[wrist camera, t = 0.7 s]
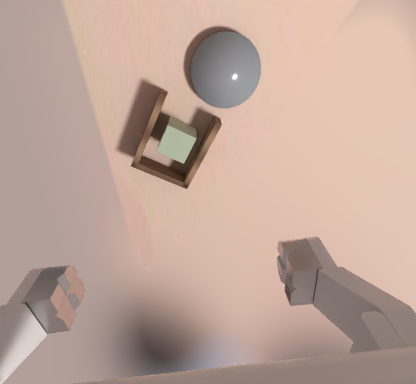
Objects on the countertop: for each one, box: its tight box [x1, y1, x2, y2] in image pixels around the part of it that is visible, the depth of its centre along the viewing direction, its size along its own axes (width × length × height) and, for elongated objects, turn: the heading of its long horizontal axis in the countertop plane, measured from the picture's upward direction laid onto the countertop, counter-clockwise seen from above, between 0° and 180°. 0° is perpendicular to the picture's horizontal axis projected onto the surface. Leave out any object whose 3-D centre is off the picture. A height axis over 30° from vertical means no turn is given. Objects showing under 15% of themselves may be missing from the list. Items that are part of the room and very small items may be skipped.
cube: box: [156, 116, 197, 164], centre depth 45 cm, size 5×5×5 cm
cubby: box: [131, 89, 222, 189], centre depth 46 cm, size 14×11×4 cm
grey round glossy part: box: [190, 31, 261, 108], centre depth 42 cm, size 11×11×1 cm
